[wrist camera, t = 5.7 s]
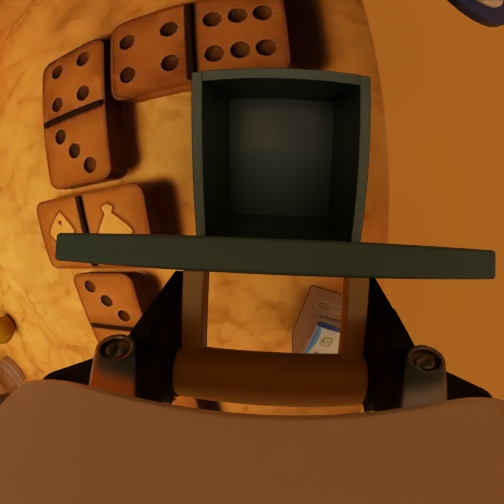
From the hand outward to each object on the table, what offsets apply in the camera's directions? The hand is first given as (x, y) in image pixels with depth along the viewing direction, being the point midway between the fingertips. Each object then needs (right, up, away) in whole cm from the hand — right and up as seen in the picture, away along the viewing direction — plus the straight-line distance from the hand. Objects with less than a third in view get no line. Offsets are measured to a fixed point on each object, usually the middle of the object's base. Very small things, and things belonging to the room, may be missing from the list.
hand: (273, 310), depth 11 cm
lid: (0, +2, +3) cm, 4 cm away
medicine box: (+8, -6, +26) cm, 28 cm away
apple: (-61, -15, +38) cm, 73 cm away
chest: (+2, +13, +19) cm, 23 cm away
